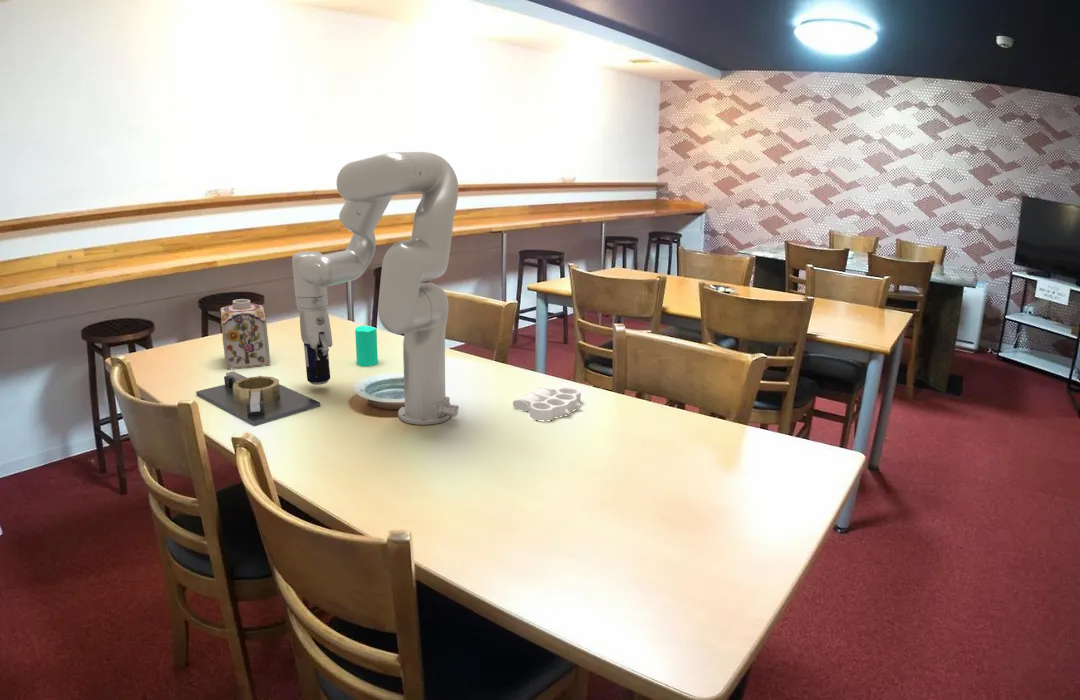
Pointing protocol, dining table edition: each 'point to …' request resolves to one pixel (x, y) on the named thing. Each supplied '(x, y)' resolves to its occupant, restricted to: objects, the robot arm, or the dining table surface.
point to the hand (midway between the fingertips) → (318, 370)
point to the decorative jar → (244, 335)
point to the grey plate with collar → (256, 398)
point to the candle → (366, 345)
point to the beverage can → (313, 366)
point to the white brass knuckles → (549, 402)
